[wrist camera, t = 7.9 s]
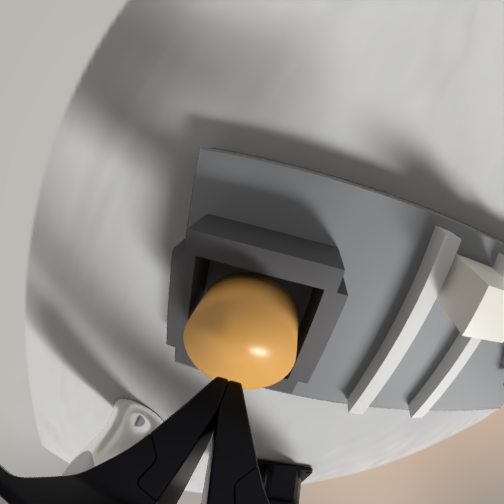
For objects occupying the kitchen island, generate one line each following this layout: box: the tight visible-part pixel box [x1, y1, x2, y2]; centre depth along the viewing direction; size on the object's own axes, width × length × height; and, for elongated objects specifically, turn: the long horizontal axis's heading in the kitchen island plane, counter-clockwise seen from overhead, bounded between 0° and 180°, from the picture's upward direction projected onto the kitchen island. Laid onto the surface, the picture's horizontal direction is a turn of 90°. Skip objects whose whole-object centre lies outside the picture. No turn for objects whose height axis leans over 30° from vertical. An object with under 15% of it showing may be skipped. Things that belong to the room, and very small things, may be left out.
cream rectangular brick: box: [437, 254, 504, 343], centre depth 10 cm, size 2×3×4 cm
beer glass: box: [62, 399, 163, 476], centre depth 17 cm, size 7×7×15 cm
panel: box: [166, 148, 504, 418], centre depth 13 cm, size 13×29×4 cm, turn 78°
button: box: [183, 272, 299, 389], centre depth 11 cm, size 4×4×2 cm
